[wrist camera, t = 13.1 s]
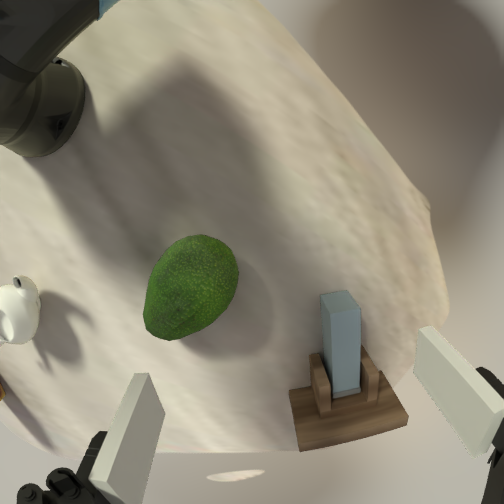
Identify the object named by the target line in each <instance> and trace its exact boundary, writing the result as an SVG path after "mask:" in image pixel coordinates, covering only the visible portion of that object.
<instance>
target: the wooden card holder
mask: <svg viewBox="0 0 504 504" xmlns="http://www.w3.org/2000/svg"><path fill="white" fill-rule="evenodd" d="M309 361H310V374H311V386H310V387H305V388H299V389H294V390H289V397H290V403H291V408H292V413H293V419H294V424H295V430H296V435H297V441H298V446H299V451H300V452H302V451H308V450H313V449H319V448H324V447H328V446H333V445H338V444H342V443H346V442H350V441H354V440H358V439H362V438H366V437H369V436H373V435H376V434H380V433H384V432H387V431H390V430H394V429H397V428H400V427H403V426H406V425H407V422H408V417H409V416H408V414H407V413H406V411H405V409H404V408H403V406H402V404H401V403H400V401H399V399H398V397H397V396H396V394H395V392H394V391H393V389H392V387H391V386H390V384H389V382H388V381H387V379H386V377H385V376H384V374H383V372H382V371H378V370H377V369H376V367H375V365H374V364H373V362H372V360H371V359H370V357H369V355H368V354H367V352H366V350H365V349H364V347H363V346H362V344H361V350H360V383H359V386H360V388H361V392H360V393H356V394H352V395H347V396H343V397H338V398H334V399H333V397H332V394H331V391H330V383H329V380H328V377H327V374H326V372H325V369H324V366H323V364H322V361H321V358H320V356H319V353H317V354H312V355H309Z"/></svg>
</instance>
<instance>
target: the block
mask: <svg viewBox="0 0 504 504" xmlns="http://www.w3.org/2000/svg"><path fill="white" fill-rule="evenodd" d="M320 304H321V318H322V333H323V350H324V369H325V372H326V374H327V377H328V380H329V383H330V391H331V394H332V397H333V399H334V398H338V397H343V396H347V395H352V394H356V393H360V392H361V388H360V386H359V383H360V350H361V308H360V307H359V305H358V304H357V303H356V301H355V300H354V299H353V298H352V296H351V295H350V294H349V292H348V291H347V290H346V291H340V292H335V293H329V294H323V295H320Z"/></svg>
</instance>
